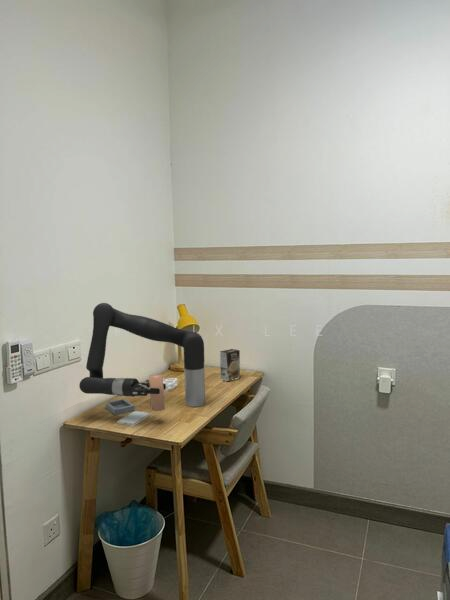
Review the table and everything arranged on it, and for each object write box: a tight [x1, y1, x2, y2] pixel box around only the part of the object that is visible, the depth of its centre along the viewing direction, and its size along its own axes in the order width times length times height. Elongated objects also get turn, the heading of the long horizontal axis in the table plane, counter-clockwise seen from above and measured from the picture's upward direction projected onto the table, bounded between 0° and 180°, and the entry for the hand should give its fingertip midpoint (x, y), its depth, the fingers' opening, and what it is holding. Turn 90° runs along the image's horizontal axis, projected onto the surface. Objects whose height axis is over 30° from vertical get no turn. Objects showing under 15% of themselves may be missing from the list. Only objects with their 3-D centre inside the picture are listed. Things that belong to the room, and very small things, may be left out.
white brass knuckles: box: [149, 377, 179, 393], centre depth 234 cm, size 3×18×15 cm
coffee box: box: [219, 348, 241, 382], centre depth 245 cm, size 9×6×16 cm
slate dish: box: [104, 398, 136, 416], centre depth 203 cm, size 12×9×2 cm
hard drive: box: [116, 410, 151, 427], centre depth 191 cm, size 2×8×12 cm
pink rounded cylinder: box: [149, 373, 166, 412], centre depth 185 cm, size 6×6×14 cm
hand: (162, 388), depth 184 cm, fingers closed on pink rounded cylinder, 5 cm apart
